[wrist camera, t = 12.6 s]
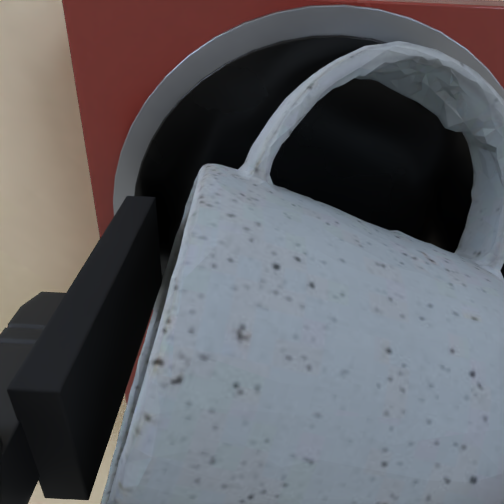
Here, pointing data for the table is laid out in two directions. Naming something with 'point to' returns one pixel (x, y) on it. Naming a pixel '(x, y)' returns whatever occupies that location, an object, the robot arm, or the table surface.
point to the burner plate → (306, 125)
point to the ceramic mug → (326, 330)
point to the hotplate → (191, 38)
